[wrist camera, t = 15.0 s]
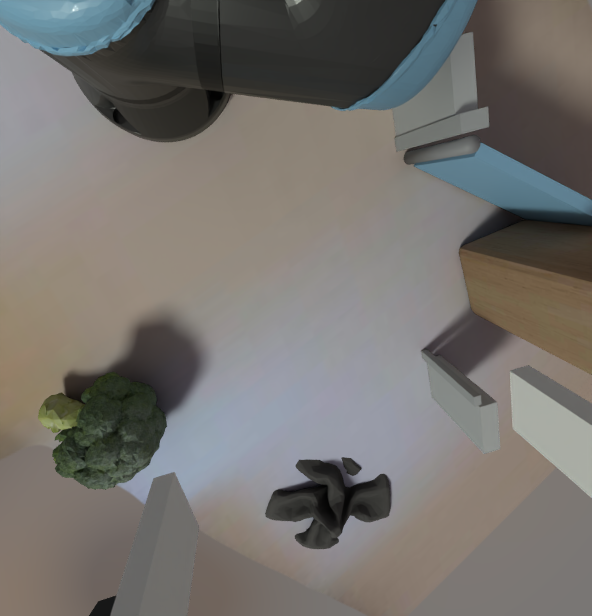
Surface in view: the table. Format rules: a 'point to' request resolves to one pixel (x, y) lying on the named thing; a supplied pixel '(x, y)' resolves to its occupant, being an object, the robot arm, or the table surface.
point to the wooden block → (536, 285)
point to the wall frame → (422, 130)
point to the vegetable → (105, 431)
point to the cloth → (330, 502)
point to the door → (502, 181)
